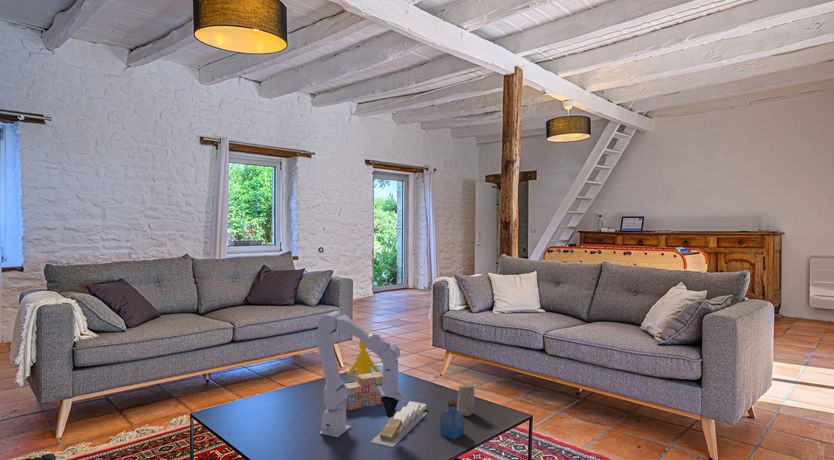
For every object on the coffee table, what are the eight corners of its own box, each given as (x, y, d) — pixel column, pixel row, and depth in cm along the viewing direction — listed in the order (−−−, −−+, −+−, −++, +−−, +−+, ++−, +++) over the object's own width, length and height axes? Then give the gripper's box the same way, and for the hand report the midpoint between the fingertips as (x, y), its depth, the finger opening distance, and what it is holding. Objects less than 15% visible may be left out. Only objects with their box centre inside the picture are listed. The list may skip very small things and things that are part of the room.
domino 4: (417, 411, 191) (426, 404, 200) (406, 410, 193) (415, 402, 202) (417, 416, 192) (426, 408, 200) (406, 414, 193) (415, 406, 202)
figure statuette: (383, 379, 236) (383, 335, 236) (380, 385, 229) (380, 339, 228) (347, 378, 238) (347, 334, 237) (344, 384, 230) (344, 338, 230)
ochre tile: (391, 436, 170) (401, 419, 178) (379, 434, 172) (390, 417, 179) (392, 440, 170) (402, 423, 178) (380, 438, 172) (390, 421, 180)
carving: (466, 418, 190) (467, 388, 190) (453, 412, 196) (453, 383, 196) (477, 414, 194) (478, 385, 194) (464, 408, 200) (464, 380, 200)
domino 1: (399, 429, 175) (408, 413, 183) (387, 427, 177) (397, 411, 185) (399, 433, 176) (409, 417, 184) (388, 431, 178) (397, 415, 186)
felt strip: (392, 447, 166) (392, 446, 166) (370, 442, 169) (370, 441, 169) (427, 413, 195) (427, 412, 195) (407, 409, 199) (407, 409, 199)
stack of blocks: (340, 411, 197) (341, 382, 197) (336, 406, 203) (336, 377, 202) (388, 403, 206) (388, 374, 206) (383, 398, 212) (383, 370, 212)
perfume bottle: (450, 429, 181) (450, 397, 180) (463, 433, 177) (464, 401, 177) (440, 434, 176) (440, 402, 176) (454, 439, 172) (454, 406, 172)
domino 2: (405, 423, 180) (414, 408, 188) (393, 421, 182) (403, 406, 190) (405, 427, 181) (414, 412, 189) (394, 425, 183) (403, 410, 191)
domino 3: (411, 417, 186) (420, 402, 194) (400, 415, 188) (409, 401, 196) (412, 421, 187) (420, 406, 194) (401, 419, 188) (409, 404, 196)
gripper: (369, 377, 176) (369, 413, 176) (395, 387, 166) (395, 426, 166) (383, 373, 181) (383, 408, 181) (410, 382, 171) (410, 420, 171)
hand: (390, 416), depth 174 cm, fingers closed
